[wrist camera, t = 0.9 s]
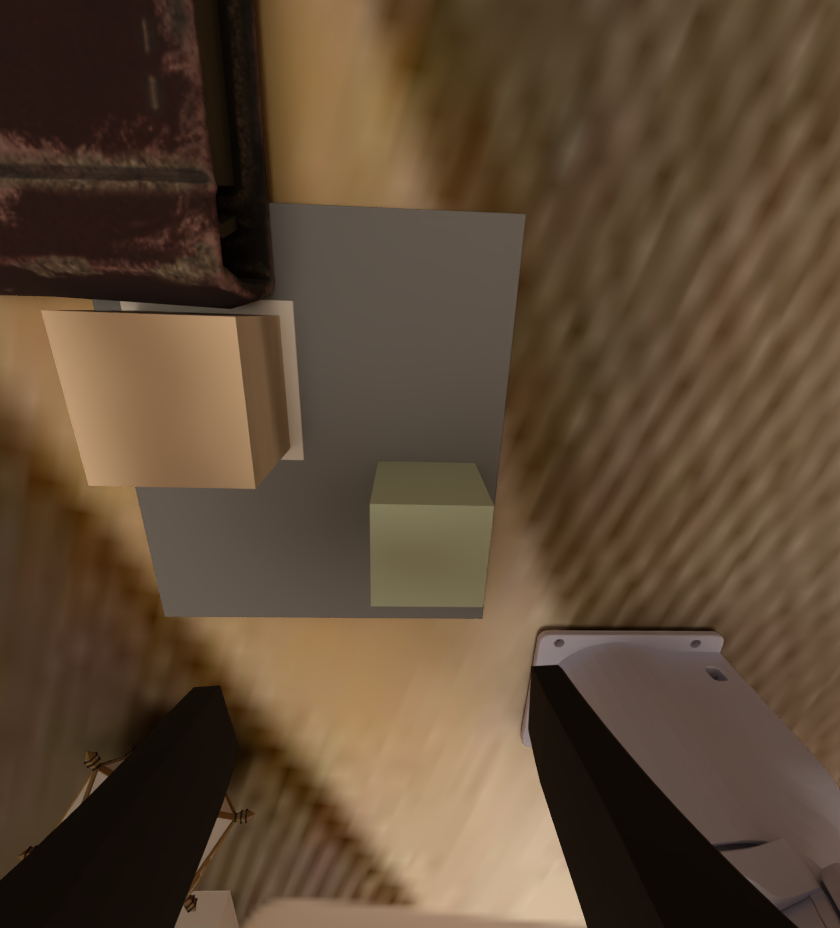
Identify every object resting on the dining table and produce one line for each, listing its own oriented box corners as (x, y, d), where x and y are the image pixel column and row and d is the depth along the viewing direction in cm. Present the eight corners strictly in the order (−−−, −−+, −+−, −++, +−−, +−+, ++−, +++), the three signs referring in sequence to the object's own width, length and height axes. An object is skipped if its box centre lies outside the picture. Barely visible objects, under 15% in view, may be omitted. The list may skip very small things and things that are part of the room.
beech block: (279, 315, 15) (235, 316, 11) (290, 448, 16) (255, 488, 13) (136, 310, 14) (41, 310, 11) (162, 445, 16) (88, 486, 12)
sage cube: (475, 463, 17) (494, 506, 13) (467, 546, 18) (483, 607, 15) (378, 461, 17) (369, 503, 13) (378, 545, 18) (370, 606, 14)
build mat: (521, 217, 14) (526, 213, 14) (480, 610, 20) (482, 620, 20) (82, 198, 14) (65, 192, 13) (172, 607, 20) (163, 617, 19)
